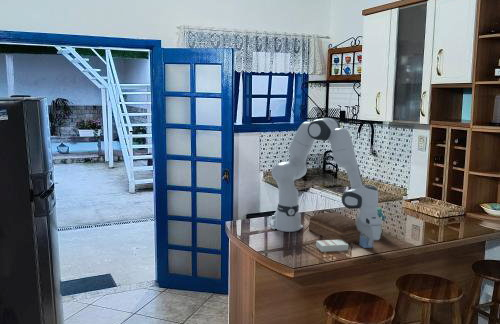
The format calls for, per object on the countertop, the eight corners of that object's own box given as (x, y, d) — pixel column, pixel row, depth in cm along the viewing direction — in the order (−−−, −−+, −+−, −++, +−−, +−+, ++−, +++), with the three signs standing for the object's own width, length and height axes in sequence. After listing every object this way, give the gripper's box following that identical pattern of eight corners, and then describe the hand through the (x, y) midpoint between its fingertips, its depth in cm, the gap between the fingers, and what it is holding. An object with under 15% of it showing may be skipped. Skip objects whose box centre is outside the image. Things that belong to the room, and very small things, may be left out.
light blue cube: (359, 244, 232) (360, 235, 231) (368, 244, 233) (368, 234, 232) (363, 248, 227) (364, 238, 226) (372, 247, 228) (373, 237, 227)
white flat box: (315, 246, 228) (316, 240, 227) (341, 244, 231) (341, 239, 230) (321, 251, 220) (322, 245, 220) (348, 250, 223) (348, 244, 223)
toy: (369, 230, 257) (370, 205, 255) (386, 234, 251) (388, 208, 249) (362, 234, 249) (363, 208, 247) (379, 238, 243) (381, 211, 241)
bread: (329, 226, 265) (330, 207, 263) (364, 240, 239) (366, 220, 238) (306, 229, 257) (307, 210, 255) (340, 245, 231) (341, 223, 230)
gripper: (353, 211, 237) (351, 237, 239) (372, 222, 217) (370, 250, 219) (364, 211, 238) (362, 236, 240) (383, 222, 218) (381, 249, 220)
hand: (366, 243), depth 229 cm, fingers closed on light blue cube, 5 cm apart
